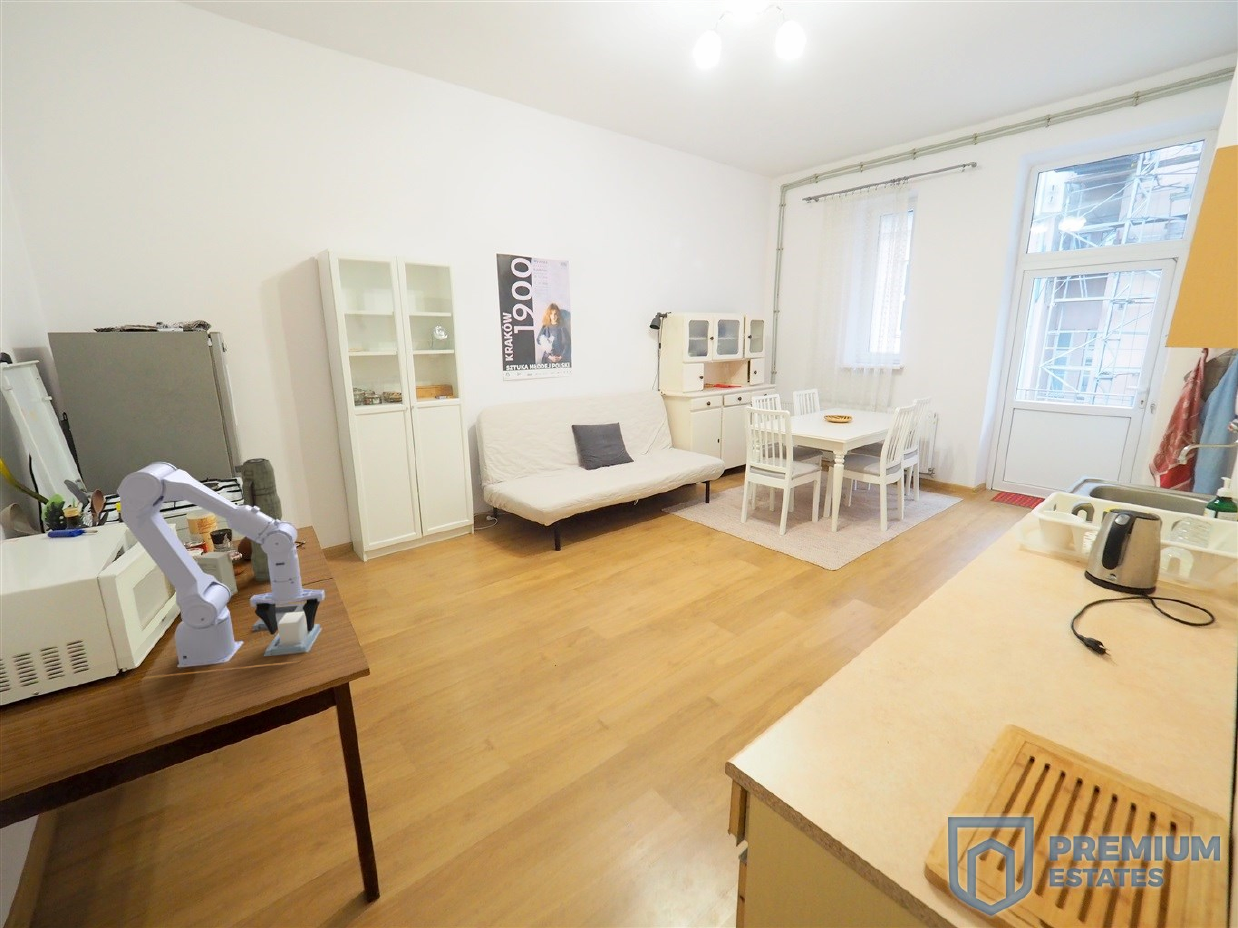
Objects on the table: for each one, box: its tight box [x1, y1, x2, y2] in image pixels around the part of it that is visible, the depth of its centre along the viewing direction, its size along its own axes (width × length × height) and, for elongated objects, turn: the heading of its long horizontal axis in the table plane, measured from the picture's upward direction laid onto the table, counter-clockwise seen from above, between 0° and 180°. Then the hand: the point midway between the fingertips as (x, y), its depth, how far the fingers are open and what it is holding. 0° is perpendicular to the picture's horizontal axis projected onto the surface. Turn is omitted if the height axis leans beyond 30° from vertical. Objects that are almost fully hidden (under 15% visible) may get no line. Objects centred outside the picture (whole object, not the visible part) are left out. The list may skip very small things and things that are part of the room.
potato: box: [236, 536, 252, 560], centre depth 166 cm, size 8×12×8 cm, turn 0°
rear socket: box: [251, 601, 306, 632], centre depth 130 cm, size 9×10×2 cm
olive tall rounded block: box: [240, 457, 283, 582], centre depth 150 cm, size 9×12×35 cm
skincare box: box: [196, 551, 238, 597], centre depth 139 cm, size 6×4×12 cm
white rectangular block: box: [277, 611, 308, 646], centre depth 120 cm, size 4×5×6 cm
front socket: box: [263, 623, 323, 657], centre depth 120 cm, size 9×10×2 cm
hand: (292, 630), depth 120 cm, fingers open, 7 cm apart
